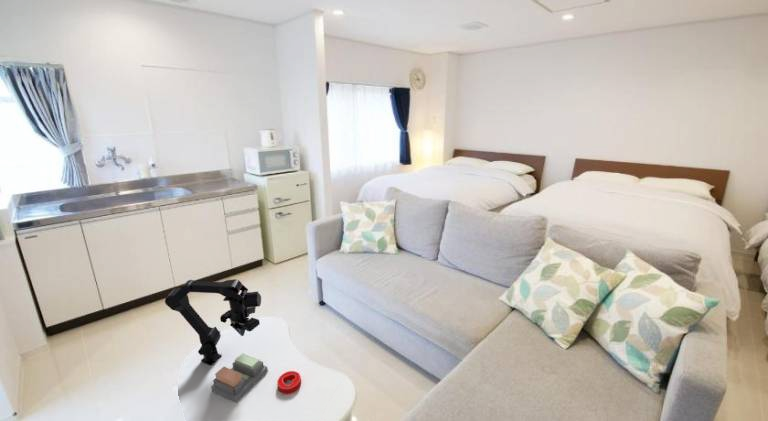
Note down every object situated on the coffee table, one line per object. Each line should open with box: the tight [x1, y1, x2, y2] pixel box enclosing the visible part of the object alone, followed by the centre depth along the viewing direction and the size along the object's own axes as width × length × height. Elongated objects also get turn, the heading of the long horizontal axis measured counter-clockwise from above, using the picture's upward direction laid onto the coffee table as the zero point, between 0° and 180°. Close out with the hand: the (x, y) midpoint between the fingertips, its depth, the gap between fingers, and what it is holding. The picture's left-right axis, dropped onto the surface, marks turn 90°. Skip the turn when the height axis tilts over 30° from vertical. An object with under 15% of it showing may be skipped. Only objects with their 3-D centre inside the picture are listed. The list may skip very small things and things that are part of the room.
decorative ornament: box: [276, 370, 302, 395], centre depth 143 cm, size 10×10×3 cm
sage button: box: [234, 352, 261, 371], centre depth 148 cm, size 10×4×4 cm, turn 65°
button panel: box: [210, 360, 269, 404], centre depth 145 cm, size 14×18×6 cm
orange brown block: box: [214, 366, 242, 388], centre depth 139 cm, size 10×4×4 cm, turn 65°
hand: (242, 335), depth 156 cm, fingers closed
